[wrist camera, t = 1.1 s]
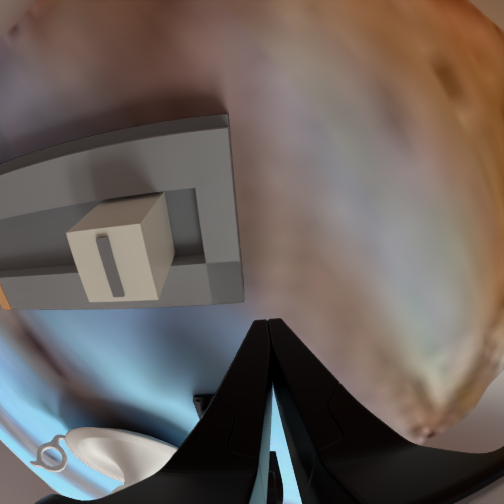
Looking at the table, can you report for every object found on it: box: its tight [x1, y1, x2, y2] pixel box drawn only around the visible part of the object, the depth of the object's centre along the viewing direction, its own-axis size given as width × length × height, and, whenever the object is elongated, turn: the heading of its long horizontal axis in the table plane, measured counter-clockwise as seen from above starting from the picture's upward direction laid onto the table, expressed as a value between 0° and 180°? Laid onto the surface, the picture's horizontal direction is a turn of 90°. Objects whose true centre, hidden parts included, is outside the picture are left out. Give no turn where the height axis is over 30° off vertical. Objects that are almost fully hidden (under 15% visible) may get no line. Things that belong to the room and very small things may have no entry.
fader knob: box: [66, 191, 175, 302], centre depth 16 cm, size 4×4×5 cm
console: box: [0, 113, 244, 310], centre depth 19 cm, size 12×26×3 cm, turn 94°
